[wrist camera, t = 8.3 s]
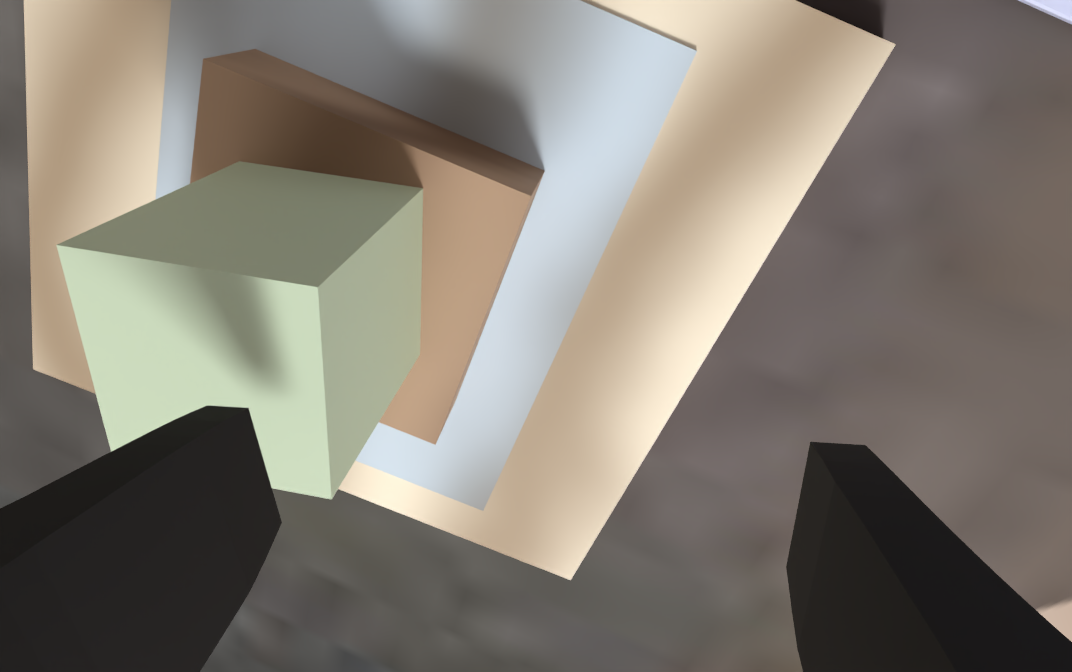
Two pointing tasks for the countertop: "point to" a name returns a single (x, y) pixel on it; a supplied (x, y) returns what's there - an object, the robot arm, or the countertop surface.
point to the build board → (631, 302)
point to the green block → (256, 311)
